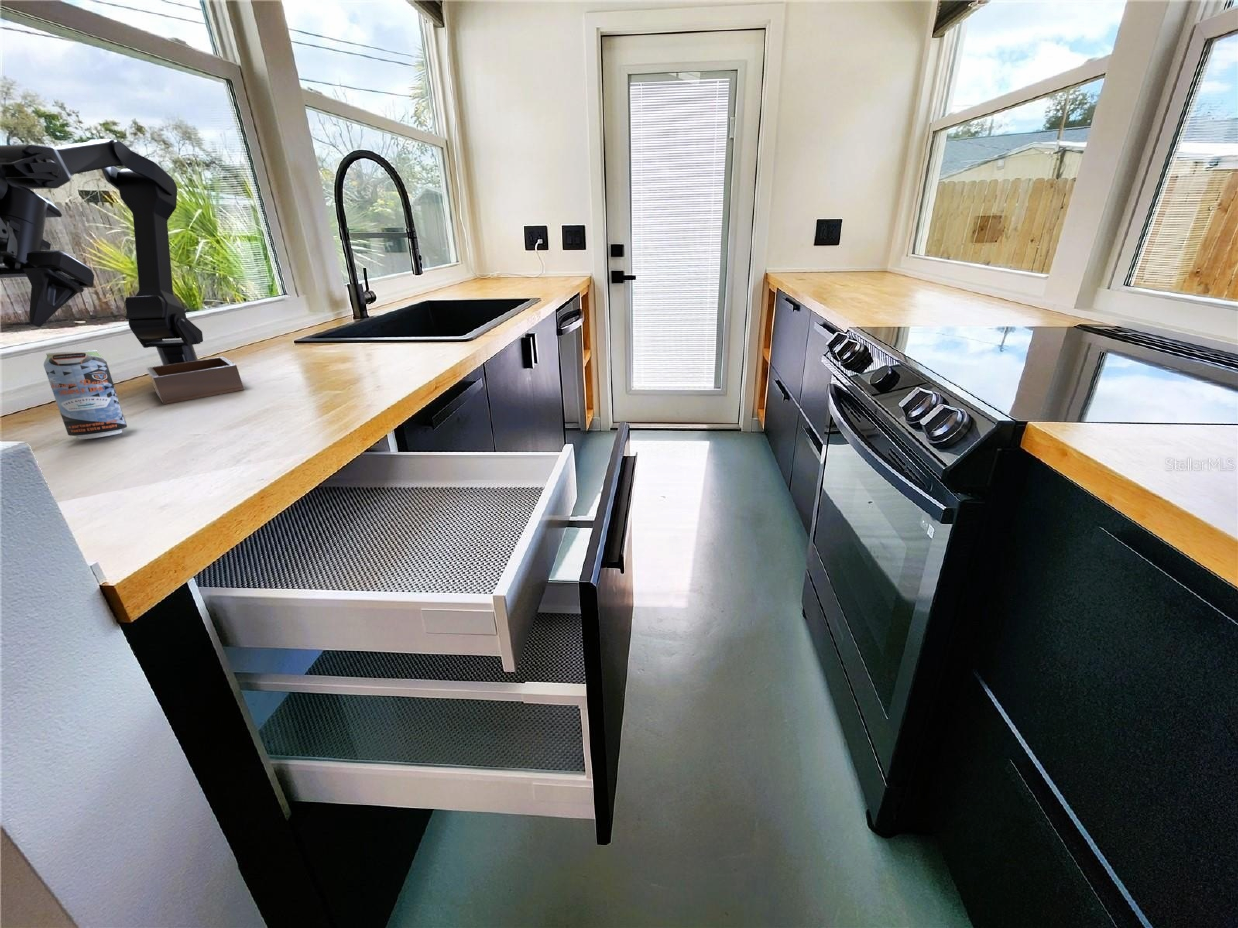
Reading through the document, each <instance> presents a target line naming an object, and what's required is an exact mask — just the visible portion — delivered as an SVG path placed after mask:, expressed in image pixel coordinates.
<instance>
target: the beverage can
mask: <svg viewBox="0 0 1238 928" xmlns="http://www.w3.org/2000/svg"><path fill="white" fill-rule="evenodd" d="M45 355H46V357H45V359H44V362H43V368H44V371H45V373H46V376H47V380H48V382H49V385H50V388H51V391H52V393H53V396H54V399H55V402H56V405H57V407H58V410H59V413H60V416H61V419H62V423H63V425H64V428H65V431H66V434H67V435H68V436H70V437H76V439H77V440H89V439H97V438H103V437H109V436H115V435H119V434H122V433H123V430H124V429H126V428H127V427H128V425H127V422H126V418H125V415H124V412H123V408H122V405H121V402H120V399H119V397H118V393H117V390H116V387H115V384H114V381H113V378H112V375H111V371H110V369H109V365H108V362H107V360H106V358H104V357H103V356H102V355H101V354H100V353H99V352H98V350H97V349H88V350H71V351H60V352H59V351H57V352H47V353H45Z"/></svg>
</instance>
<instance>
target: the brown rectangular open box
mask: <svg viewBox="0 0 1238 928" xmlns="http://www.w3.org/2000/svg"><path fill="white" fill-rule="evenodd" d="M146 370H147V374H148V376H149V378H150V380H151V383H152V386H153V388H154V391H155V394H156V395H157V396H158V398H159V399H160V401H161V403H162V404H163V405H168V404H174V403H179V402H185V401H191V400H195V399H201V398H207V397H211V396H216V395H217V396H218V395H222V394H223V395H224V394H229V393H233V392H240V391H244V390H245V388H244V384H243V382H242V379H241V375H240V372H239V369H238V366H237V364H235V363H234V362H232V361H231V360H230V359H228V358H226V357H225V356H217V357H210V358H204V359H198V360H196V361H189V362H182V363H175V364H169V365H163V364H162V365H154V366H149V367H146Z"/></svg>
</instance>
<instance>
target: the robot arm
mask: <svg viewBox="0 0 1238 928" xmlns="http://www.w3.org/2000/svg"><path fill="white" fill-rule="evenodd" d="M117 167H125V168H122V169H121V170H119V169H118V168H117ZM96 170H101V172H102V174H103V177H104V179H105V181H106V182H107V183H108V184H110V185H111V186H112V187H114V188H115V189H116V190H118V193H119V198H120V199H121V201H122V202H123V204H124V205H125V206H126V207H127V208H128V210H129V211H130V213H131V214H132V220H133V221H132V222H133V233H134V245H135V257H136V258H135V259H136V271H137V281H138V291H137V293H136V294H135V295H134V296H126V297H125V300H124V304H125V310H126V314H125V319H126V320H127V322H128V326H129V329H130V331H131V332H132V333H133V335H134V336H135V337H136V339H137V341H138V342H139V343H140V345H141V346H142V347H143V348H144V349H149V348H156V351H157V353H158V355H159V358H160V361H161V364H162V365H169V364H175V363H182V362H189V361H196V360H199V359H198V355H197V352H196V350H195V347H194V345H201V343H203V342H204V336H203V331H202V330H201V329H200V328H199V327H198V326H196V325H195V324H194V323H193V322H192V321H191V320H190V319H188V318H187V315H186V310H185V308H184V306H183V305H182V304H181V303H180V301H179V300H178V299H177V298H176V297H175V295H174V288H173V277H172V276H173V275H172V263H171V251H170V249H171V248H170V239H169V237H170V236H169V226H168V220H169V219H170V218H171V216H172V215H173V214H174V212H175V211H176V209H177V202H178V186H177V184H176V181H175V179H174V178H173V177H172V176H171V175H170V174H169V173H168V172H166V171H165V170H164V169H163V168H162V167H161V166H160V165H158V163H157V162H155V161H153V160H151V159H149V158H147V157H145V156H143V155H141V154H140V153H136V151H133V150H131V149H130V148H129V147H128V146H127V145H126V144H125V143H123V142H122V141H119V140H117V139H89V140H88V141H86V142H80V143H72V144H65V145H58V146H49V145H41V144H6V145H5V144H2V145H1V144H0V279H28V282H29V284H30V286H31V287H30V301H29V311H28V312H29V324H30V325H31V326H34V327H35V328H41V327H42V326H43V325H44V324H45V323H46V322H48V320H50V318H52V316H54V314H55V313H57V311H58V310H60V309H61V308H62V307H63V306H64V305H66V304H67V303H68V302H69V301H70V300H71V299H73V298H74V297H75V296H76V295H77V294H79V293H84V291H85V289H88V288H93V287H94V284H95V283H94V282H95V274H94V272H93V270H92V269H91V268H90V267H89V266H88V265H86V264H84V263H83V262H81V261H79V260H77V258H75V257H73V256H71V255H69V254H67V252H64V251H63V250H61V249H57V250H56V249H55V250H54V249H53V250H52V249H51V248H52V244H51V243H50V242H49V241H47V240H45V239H44V233H45V226H46V218H47V219H48V218H62V217H63V214H62V213H61V211H60V209H59V208H58V207H57V206H55V204H54V203H53V202H52V200H51V199H50V198H49V197H42V196H41V195H39V194H38V193H36V192H35V191H33V190H51V189H52V190H54V189H58V188H61V187H62V186H64V185H66V184H67V183H69V182H71V180H72V177H73V176H74V175H76V174H83V173H88V172H92V171H96Z"/></svg>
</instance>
